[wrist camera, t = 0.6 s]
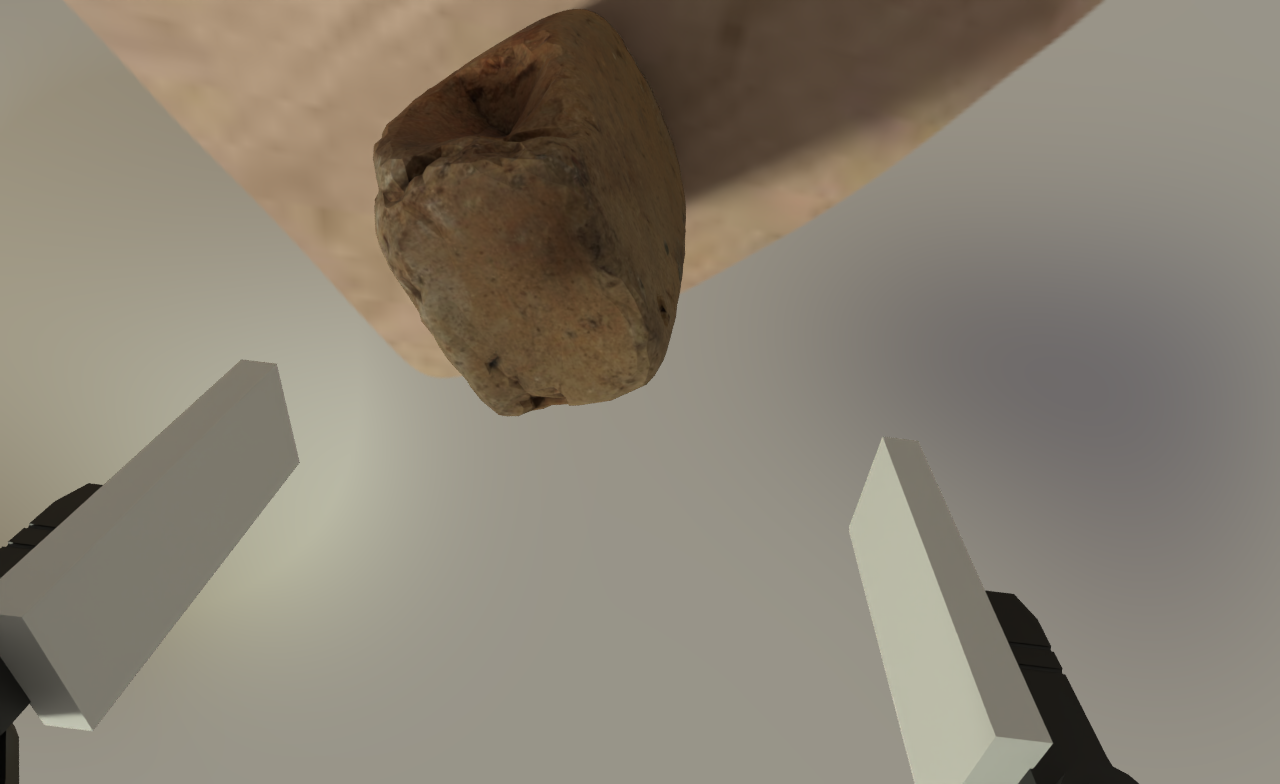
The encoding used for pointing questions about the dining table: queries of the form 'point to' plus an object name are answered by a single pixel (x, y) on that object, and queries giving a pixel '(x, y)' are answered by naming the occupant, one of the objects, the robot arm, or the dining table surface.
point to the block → (538, 217)
